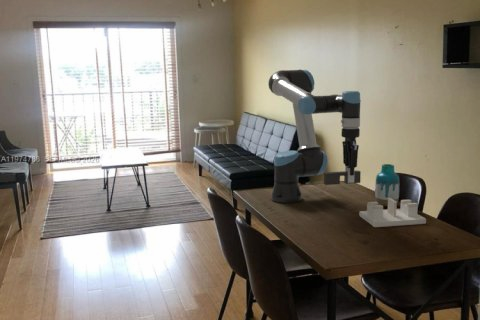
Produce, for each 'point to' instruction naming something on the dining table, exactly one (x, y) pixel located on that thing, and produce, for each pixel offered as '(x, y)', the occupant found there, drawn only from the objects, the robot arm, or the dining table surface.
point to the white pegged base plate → (392, 214)
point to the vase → (386, 185)
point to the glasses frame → (334, 177)
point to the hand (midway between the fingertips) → (349, 181)
